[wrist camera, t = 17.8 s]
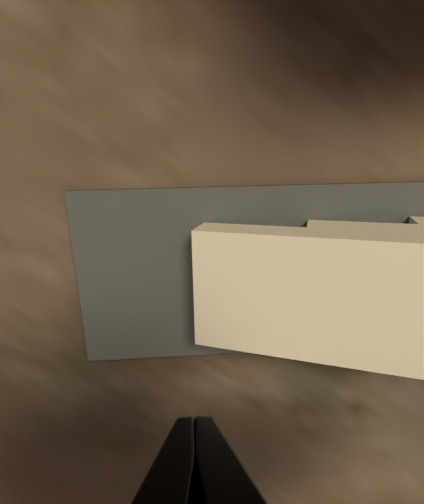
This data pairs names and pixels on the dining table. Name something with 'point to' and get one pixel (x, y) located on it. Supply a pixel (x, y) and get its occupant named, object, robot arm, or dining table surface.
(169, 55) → the dining table surface
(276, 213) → the domino mat
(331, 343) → the domino
